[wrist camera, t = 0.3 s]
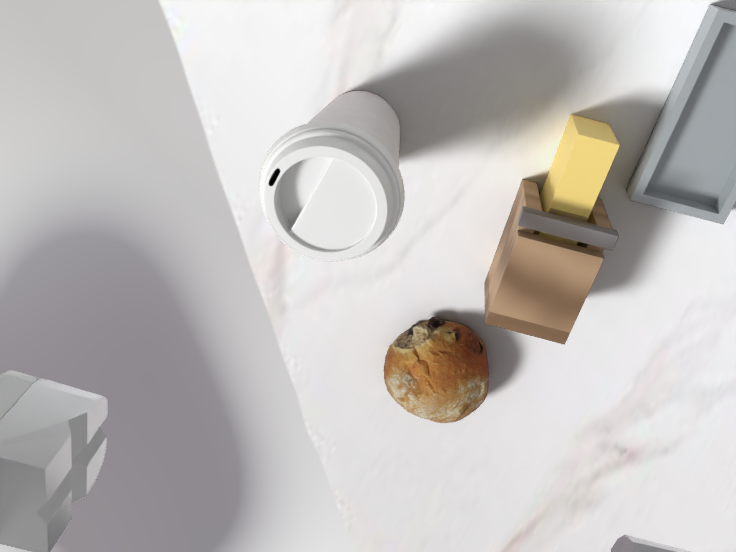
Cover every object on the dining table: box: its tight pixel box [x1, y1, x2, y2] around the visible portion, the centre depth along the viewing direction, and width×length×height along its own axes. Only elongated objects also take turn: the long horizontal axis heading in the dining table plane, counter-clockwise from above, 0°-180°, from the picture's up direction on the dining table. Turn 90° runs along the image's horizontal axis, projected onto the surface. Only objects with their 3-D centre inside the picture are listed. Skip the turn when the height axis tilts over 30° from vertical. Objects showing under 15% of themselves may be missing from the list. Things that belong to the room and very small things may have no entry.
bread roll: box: [384, 317, 489, 423], centre depth 65 cm, size 10×10×8 cm
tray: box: [626, 4, 736, 224], centre depth 51 cm, size 14×7×2 cm, turn 168°
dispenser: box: [485, 179, 619, 344], centre depth 56 cm, size 10×7×6 cm
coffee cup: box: [259, 91, 404, 262], centre depth 50 cm, size 10×10×15 cm
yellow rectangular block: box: [533, 114, 620, 245], centre depth 54 cm, size 10×3×5 cm, turn 168°
